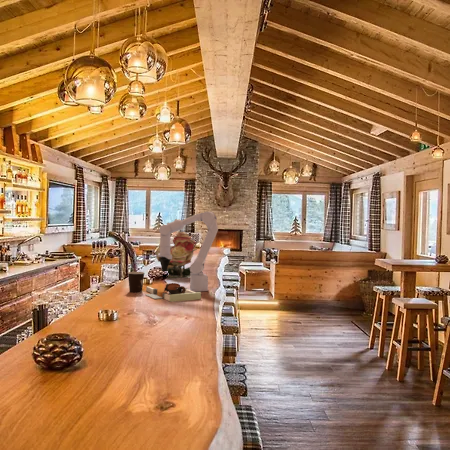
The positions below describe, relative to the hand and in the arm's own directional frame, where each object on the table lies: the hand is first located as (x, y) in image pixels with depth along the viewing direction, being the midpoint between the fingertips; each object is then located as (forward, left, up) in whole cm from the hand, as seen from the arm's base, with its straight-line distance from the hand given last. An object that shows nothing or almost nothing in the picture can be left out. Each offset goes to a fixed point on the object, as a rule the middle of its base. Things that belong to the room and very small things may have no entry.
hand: (164, 270), depth 246 cm
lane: (+4, +18, -10) cm, 21 cm away
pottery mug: (+5, +25, -10) cm, 27 cm away
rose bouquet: (-29, -43, -10) cm, 52 cm away
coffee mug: (+16, +2, -10) cm, 19 cm away
